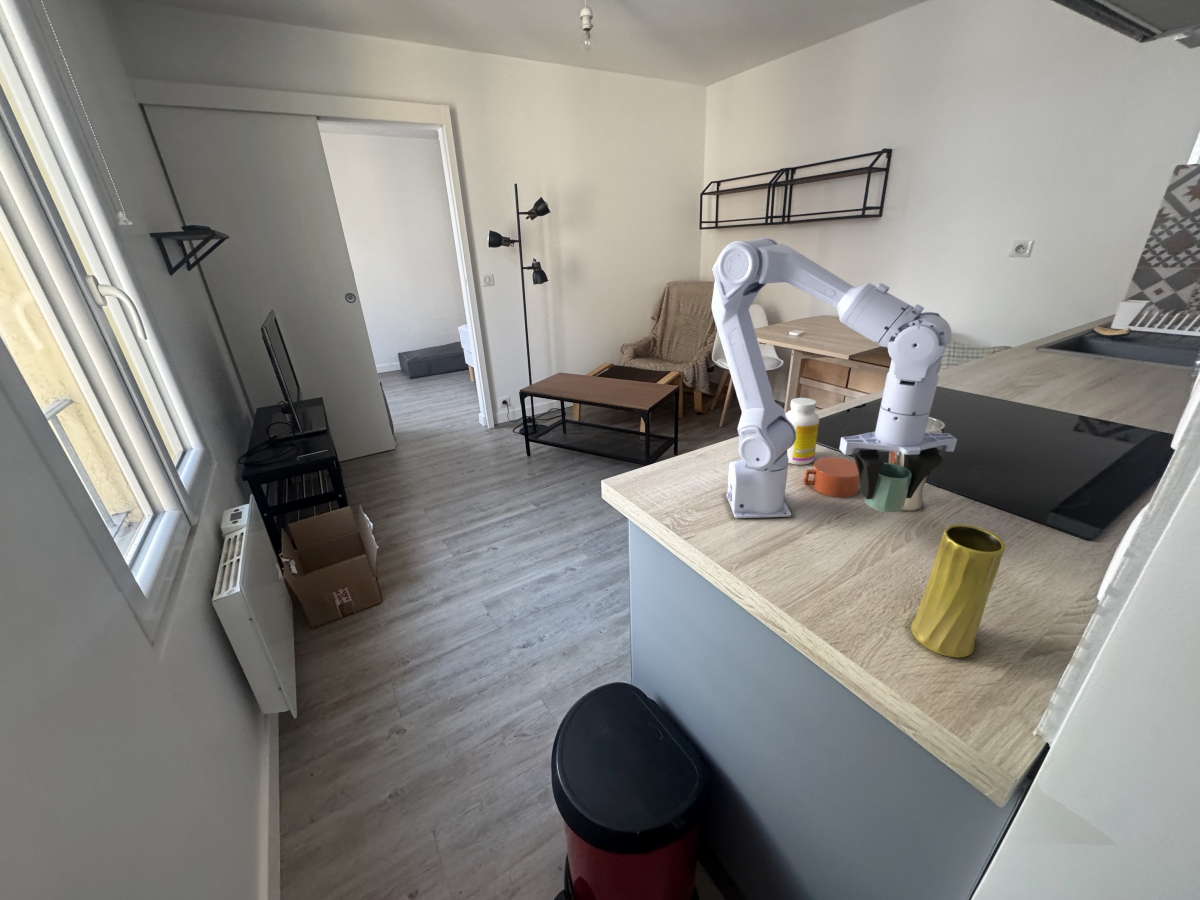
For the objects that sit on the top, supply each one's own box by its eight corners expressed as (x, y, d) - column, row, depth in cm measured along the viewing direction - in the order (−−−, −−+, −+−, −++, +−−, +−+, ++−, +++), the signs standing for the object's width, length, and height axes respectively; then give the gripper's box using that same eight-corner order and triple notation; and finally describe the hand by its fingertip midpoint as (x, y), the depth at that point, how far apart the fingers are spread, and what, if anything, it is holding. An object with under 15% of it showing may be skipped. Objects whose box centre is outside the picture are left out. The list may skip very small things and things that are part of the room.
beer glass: (931, 513, 78) (955, 430, 71) (885, 511, 79) (904, 429, 73) (915, 492, 84) (935, 414, 78) (872, 490, 85) (889, 414, 79)
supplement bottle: (820, 459, 98) (829, 401, 92) (801, 469, 94) (808, 409, 89) (792, 449, 103) (799, 393, 97) (773, 458, 100) (779, 401, 94)
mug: (847, 475, 91) (850, 456, 89) (866, 496, 84) (870, 476, 82) (795, 477, 92) (798, 458, 90) (810, 498, 84) (813, 478, 83)
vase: (899, 621, 58) (925, 524, 52) (946, 615, 58) (978, 519, 52) (935, 661, 52) (969, 559, 46) (987, 655, 53) (1028, 552, 47)
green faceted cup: (874, 513, 67) (881, 479, 65) (858, 495, 72) (864, 463, 69) (910, 512, 67) (919, 478, 64) (892, 494, 71) (899, 462, 69)
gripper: (862, 421, 60) (845, 511, 65) (982, 416, 59) (954, 508, 64) (839, 402, 66) (826, 486, 72) (947, 398, 65) (924, 483, 71)
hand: (885, 495), depth 69 cm, fingers closed on green faceted cup, 5 cm apart
